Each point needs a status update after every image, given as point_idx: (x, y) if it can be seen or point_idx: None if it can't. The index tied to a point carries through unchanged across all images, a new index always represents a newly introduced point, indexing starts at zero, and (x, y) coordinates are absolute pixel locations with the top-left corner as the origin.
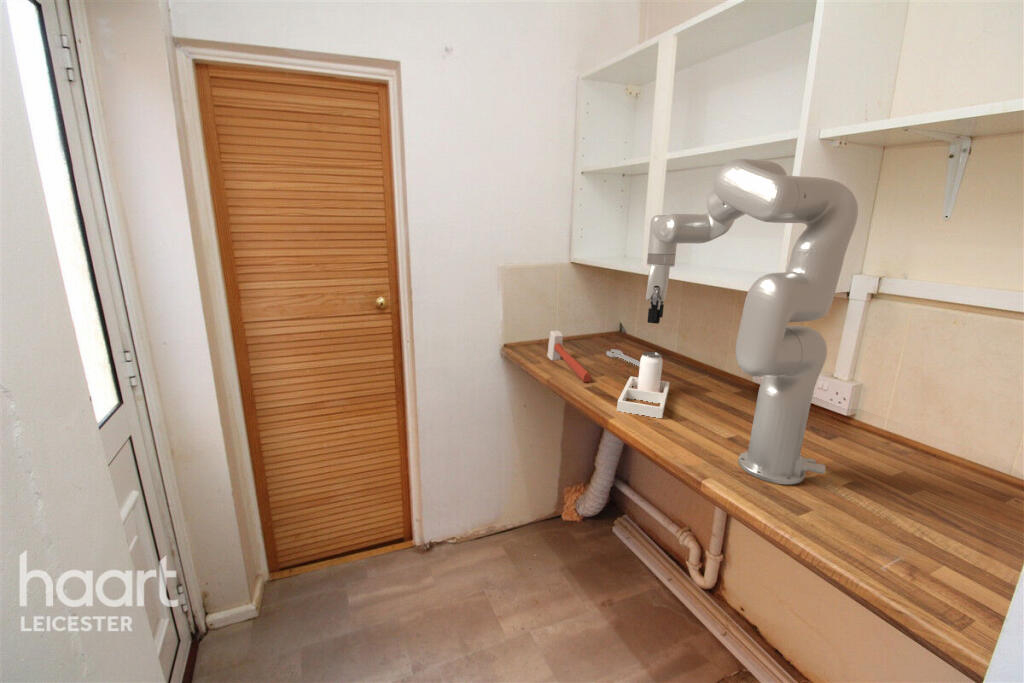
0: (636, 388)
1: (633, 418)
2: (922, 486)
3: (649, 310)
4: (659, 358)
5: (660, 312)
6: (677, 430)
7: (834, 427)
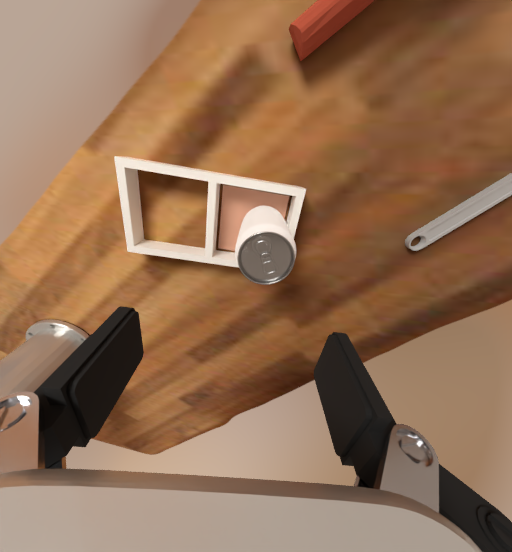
0: (278, 203)
1: (112, 194)
2: (117, 421)
3: (57, 377)
4: (248, 276)
5: (323, 392)
6: (107, 264)
7: (215, 409)
